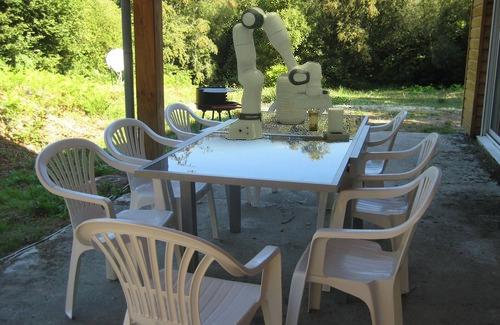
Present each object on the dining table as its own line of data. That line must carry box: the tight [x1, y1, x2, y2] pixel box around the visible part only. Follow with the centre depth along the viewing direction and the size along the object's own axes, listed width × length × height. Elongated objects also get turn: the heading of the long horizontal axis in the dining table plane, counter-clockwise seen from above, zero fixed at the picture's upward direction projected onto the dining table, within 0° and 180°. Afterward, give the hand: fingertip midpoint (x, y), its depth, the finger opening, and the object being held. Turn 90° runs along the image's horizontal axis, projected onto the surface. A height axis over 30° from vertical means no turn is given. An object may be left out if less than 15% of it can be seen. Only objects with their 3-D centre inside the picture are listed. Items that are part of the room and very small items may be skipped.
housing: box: [322, 130, 350, 143], centre depth 273 cm, size 12×12×4 cm
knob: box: [307, 109, 320, 133], centre depth 277 cm, size 6×6×11 cm
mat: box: [300, 135, 325, 142], centre depth 279 cm, size 12×12×1 cm
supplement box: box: [327, 107, 345, 131], centre depth 293 cm, size 9×9×15 cm
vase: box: [275, 72, 306, 125], centre depth 334 cm, size 20×20×34 cm
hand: (313, 116), depth 276 cm, fingers closed on knob, 5 cm apart
